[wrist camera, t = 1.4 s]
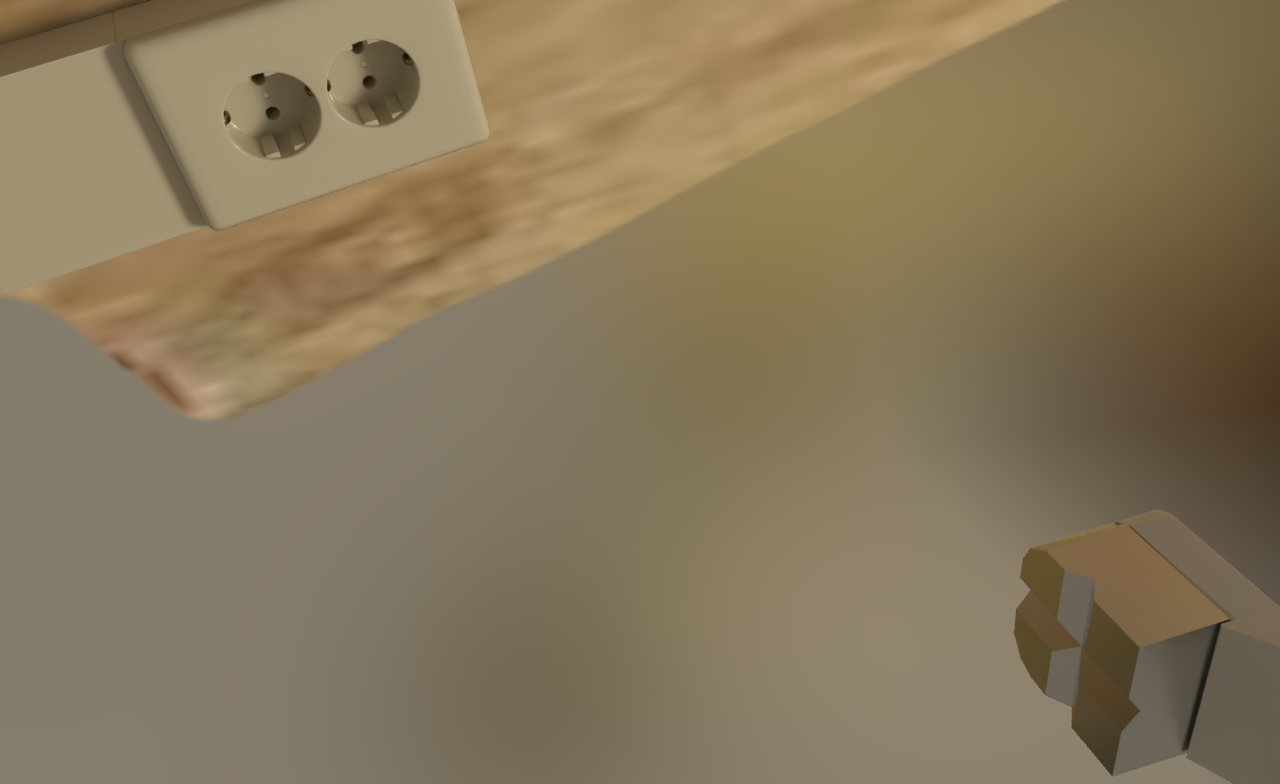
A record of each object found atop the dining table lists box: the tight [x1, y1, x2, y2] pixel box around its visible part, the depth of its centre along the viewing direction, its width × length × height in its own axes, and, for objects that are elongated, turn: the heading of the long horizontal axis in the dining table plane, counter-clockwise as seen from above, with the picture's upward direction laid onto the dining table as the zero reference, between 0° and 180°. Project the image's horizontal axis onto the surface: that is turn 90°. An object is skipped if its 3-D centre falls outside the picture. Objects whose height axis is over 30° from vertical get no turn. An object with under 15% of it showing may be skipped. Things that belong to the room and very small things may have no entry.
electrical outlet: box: [0, 0, 490, 294], centre depth 40 cm, size 7×4×18 cm
